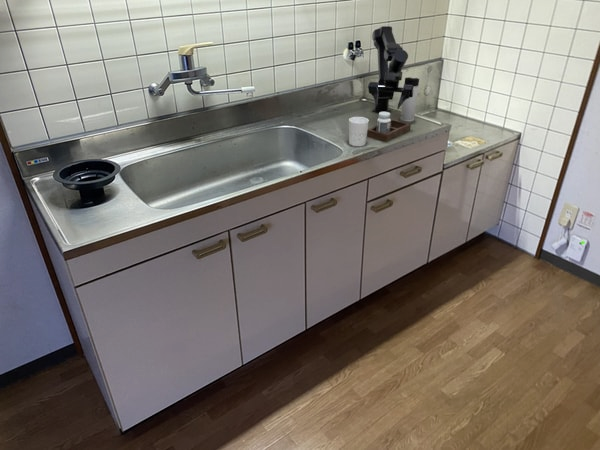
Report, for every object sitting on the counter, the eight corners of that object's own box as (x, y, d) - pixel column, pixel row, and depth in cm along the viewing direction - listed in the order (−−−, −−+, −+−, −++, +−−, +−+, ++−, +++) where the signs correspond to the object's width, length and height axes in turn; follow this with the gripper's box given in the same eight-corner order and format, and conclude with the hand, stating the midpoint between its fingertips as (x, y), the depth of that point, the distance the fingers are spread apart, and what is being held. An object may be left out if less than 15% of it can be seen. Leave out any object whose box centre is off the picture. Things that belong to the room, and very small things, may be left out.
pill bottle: (391, 135, 197) (394, 112, 192) (385, 139, 193) (387, 116, 188) (380, 132, 200) (382, 110, 195) (373, 136, 196) (375, 113, 191)
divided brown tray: (391, 125, 208) (391, 118, 207) (410, 130, 202) (411, 124, 201) (366, 136, 197) (366, 129, 195) (385, 142, 191) (386, 135, 189)
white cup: (356, 138, 195) (357, 115, 189) (370, 143, 190) (372, 119, 185) (343, 143, 190) (344, 119, 185) (358, 148, 185) (360, 124, 180)
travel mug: (398, 122, 211) (403, 78, 200) (401, 118, 216) (406, 74, 206) (412, 124, 209) (418, 79, 198) (415, 120, 214) (420, 75, 204)
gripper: (370, 62, 193) (363, 95, 189) (416, 65, 187) (409, 99, 184) (372, 76, 203) (365, 109, 200) (415, 80, 198) (409, 113, 195)
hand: (386, 107), depth 194 cm, fingers open, 9 cm apart
